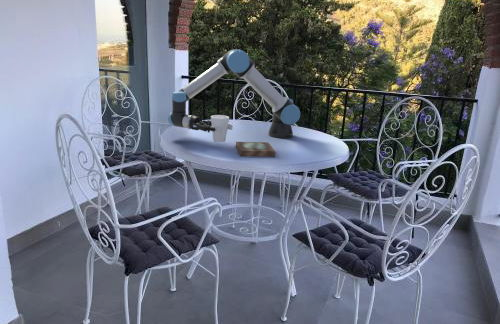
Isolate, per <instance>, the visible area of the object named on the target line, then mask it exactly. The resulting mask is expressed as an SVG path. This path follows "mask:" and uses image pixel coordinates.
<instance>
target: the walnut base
mask: <svg viewBox="0 0 500 324" xmlns="http://www.w3.org/2000/svg"><path fill="white" fill-rule="evenodd" d="M235 149H236V151H237V153H238V156H239V157H248V156H249V158H250V157H253V158H254V157H255V158H256V157H258V158H260V157H261V158H262V157H263V158H264V157H265V158H268V157H269V158H276V150H275V149H274V147H273V146H272V145H271V143H270V142H268V141H267V142H266V141H235Z"/></svg>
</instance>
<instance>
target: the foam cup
mask: <svg viewBox="0 0 500 324" xmlns="http://www.w3.org/2000/svg"><path fill="white" fill-rule="evenodd" d="M210 121H211V123H212V126H215V127H220V128H222V132H221V133H217V132H212V131H211V132H212V140H213V142H214V143H225V142H226V139H227V134H228V129H227V128H228V124H229V122H230V117H229V116H227V115H224V114H214V115H210Z"/></svg>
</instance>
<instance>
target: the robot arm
mask: <svg viewBox="0 0 500 324" xmlns="http://www.w3.org/2000/svg"><path fill="white" fill-rule="evenodd" d="M231 72H233V73H234V75H236V77H238V79H244V81H245V82H246V83H247V84H249V86H250V87H251V88H252V89H253V91H255V92H256V93H257V94H258V95H259V96H260V97H261V98H262V99H263V100H265V102H266V103H267V104H268V105H269V106H270V108H272V109H271V110H272V118H271V119H272V121H271V124H270V127H269V130H268V136H270V137H272V138H277V139H288V138H289V139H290V138H292V137H293V136H294V133H293V132H294V131H293V127H292V126H293V125H295V124H296V123H297V122H299V120H300V117H301V111H300V109H299V107H298V105H295V104H294V100H293V98H288V97H287V96H283V95H282V94H281V93H280V92H279V91H278V90H277V89H276V88H275V87H274V86H273V85H272V84H271V83H270V82H269V80H267V79H266V77H264V75H263V74H261V72H260V71H259V70H258V69H257V68H256V67H255V62H254V60H252V59H251V58H250V57H249V55H248V53H247V52H246V51H244V50H242V49H237V48H233V49H230V50H228V51H227V52H226V53H225V54H224V55H223V56H222V57H220V58H219V59H218V60H217V62H216V63H215V64H214V65H212V66H210V67H209V69H207V70H206V71H205V70H204V72H203V73H201V74H200V75H199V76H198V77H196V78H194V79H193V80H192V81H191V82H189V83H188V84H186V85H184V86H183V87H182V88H181V89H179V90H177V91H173V92H172V96H171V101H172V102H171V103H172V104H171V105H172V109H171V110H172V111H171V112H170V113H169V114H168V117H167V122H168V123H169V125H170V126H173V127H178V128H184V129H187V130H188V131H189V130H194V131H203V132H205V133H206V132H207V133H210V132H217V133H221V132H222V128H220V127H215V126H212V123H211V119H208V120H205V119H202V118H201V117H200V116H196V115H190V114H187V102H188V101H189V100H191V99H192V98H193V97H195V96H196V95H197V94H199V93H201V92H202V91H203V90H204V89H206V88H207V87H209V86H210V85H211V84H213V83H215V82H216V81H217V80H218V79H220V78H221V77H223V76H224V75H228V74H230V73H231ZM227 130H230V131H233V124H232V123H231V124H229V123H228V128H227Z"/></svg>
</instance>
